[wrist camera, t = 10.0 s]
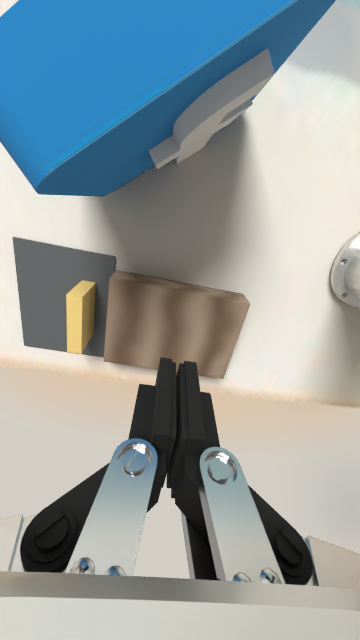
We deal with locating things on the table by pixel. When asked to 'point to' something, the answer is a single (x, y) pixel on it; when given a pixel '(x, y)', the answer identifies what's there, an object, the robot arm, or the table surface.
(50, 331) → the mat
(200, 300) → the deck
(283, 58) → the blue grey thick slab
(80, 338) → the yellow rectangular block
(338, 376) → the table surface
